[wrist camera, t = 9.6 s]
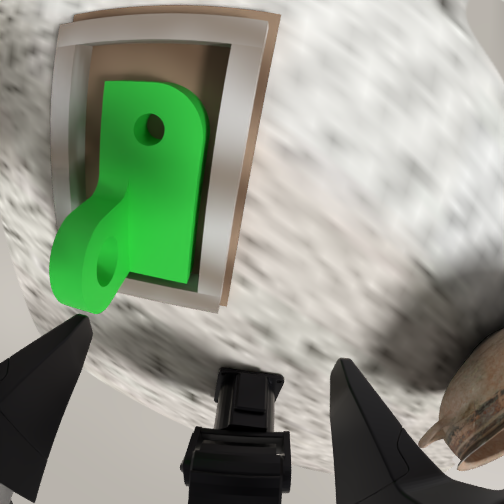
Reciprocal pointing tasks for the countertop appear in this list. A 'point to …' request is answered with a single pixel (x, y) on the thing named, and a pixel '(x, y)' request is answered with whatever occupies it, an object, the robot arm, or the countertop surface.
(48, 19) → the countertop surface
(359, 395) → the robot arm
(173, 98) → the mechanical part
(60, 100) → the keyed nest
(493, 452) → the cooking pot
